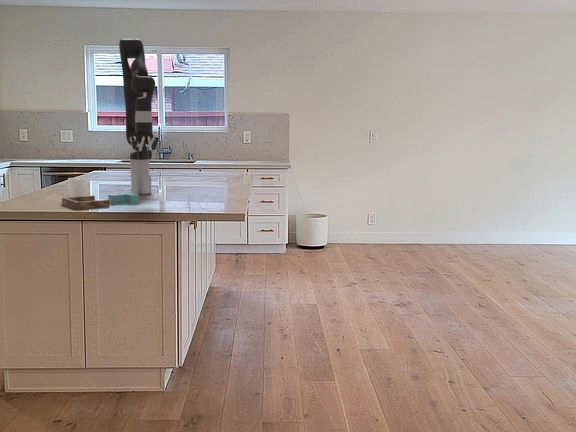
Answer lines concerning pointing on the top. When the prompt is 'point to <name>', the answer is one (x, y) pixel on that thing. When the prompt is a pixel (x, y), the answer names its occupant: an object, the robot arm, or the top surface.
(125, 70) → the robot arm
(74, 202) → the walnut dock
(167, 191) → the top surface
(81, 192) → the white cup
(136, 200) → the teal T-block
